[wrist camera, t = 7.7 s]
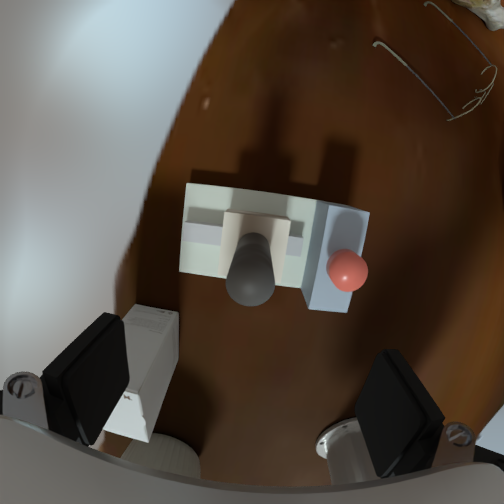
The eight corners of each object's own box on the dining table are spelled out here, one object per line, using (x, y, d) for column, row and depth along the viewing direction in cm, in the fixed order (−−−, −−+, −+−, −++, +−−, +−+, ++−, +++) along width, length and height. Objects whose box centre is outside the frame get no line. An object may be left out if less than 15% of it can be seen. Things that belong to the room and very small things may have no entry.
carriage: (286, 214, 30) (307, 242, 17) (277, 268, 31) (289, 331, 18) (229, 206, 30) (206, 228, 16) (223, 261, 31) (198, 319, 18)
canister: (223, 439, 41) (210, 541, 21) (202, 478, 45) (189, 555, 25) (125, 406, 40) (79, 497, 20) (123, 452, 44) (93, 524, 24)
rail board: (347, 205, 31) (369, 212, 24) (330, 287, 33) (346, 312, 27) (189, 182, 31) (171, 184, 24) (182, 267, 33) (164, 289, 26)
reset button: (363, 251, 24) (371, 257, 22) (355, 285, 24) (362, 293, 23) (330, 246, 24) (336, 252, 22) (322, 281, 24) (327, 289, 23)
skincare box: (135, 301, 35) (74, 370, 20) (183, 311, 35) (140, 392, 20) (138, 352, 37) (92, 427, 22) (181, 362, 37) (149, 446, 22)
